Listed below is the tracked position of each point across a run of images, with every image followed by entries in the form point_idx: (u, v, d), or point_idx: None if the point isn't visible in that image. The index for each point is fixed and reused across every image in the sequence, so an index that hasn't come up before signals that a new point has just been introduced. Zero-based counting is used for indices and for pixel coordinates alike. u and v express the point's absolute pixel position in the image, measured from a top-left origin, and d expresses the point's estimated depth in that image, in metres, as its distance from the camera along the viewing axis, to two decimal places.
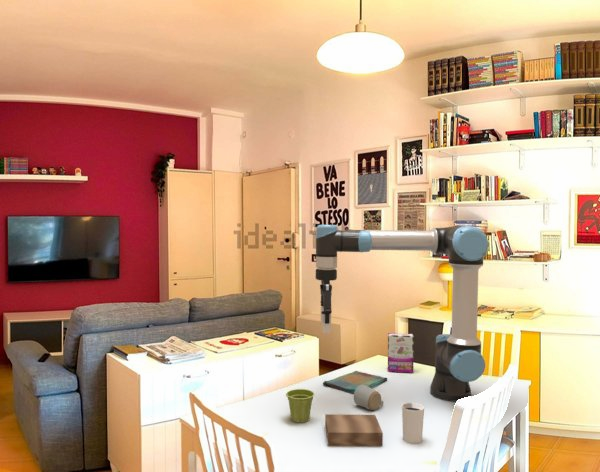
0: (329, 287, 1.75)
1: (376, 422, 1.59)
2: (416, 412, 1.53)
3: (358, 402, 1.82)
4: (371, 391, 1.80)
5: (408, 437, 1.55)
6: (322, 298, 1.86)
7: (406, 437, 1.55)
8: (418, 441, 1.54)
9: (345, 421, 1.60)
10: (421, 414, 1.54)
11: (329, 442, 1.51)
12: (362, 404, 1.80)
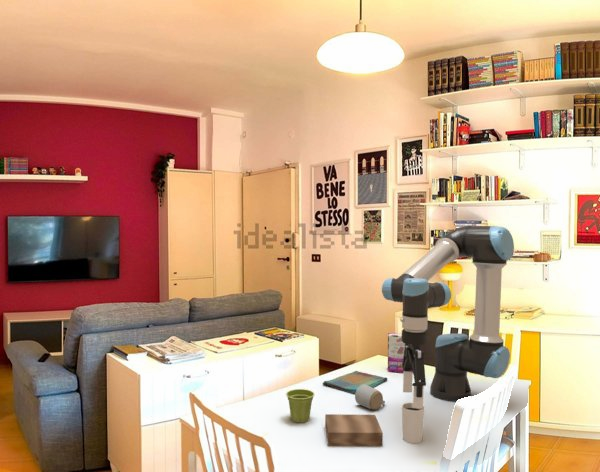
0: (422, 354, 1.49)
1: (376, 422, 1.59)
2: (416, 412, 1.53)
3: (360, 402, 1.82)
4: (373, 391, 1.80)
5: (408, 437, 1.55)
6: (406, 362, 1.61)
7: (406, 437, 1.55)
8: (418, 441, 1.54)
9: (345, 421, 1.60)
10: (421, 414, 1.54)
11: (329, 442, 1.51)
12: (364, 404, 1.81)
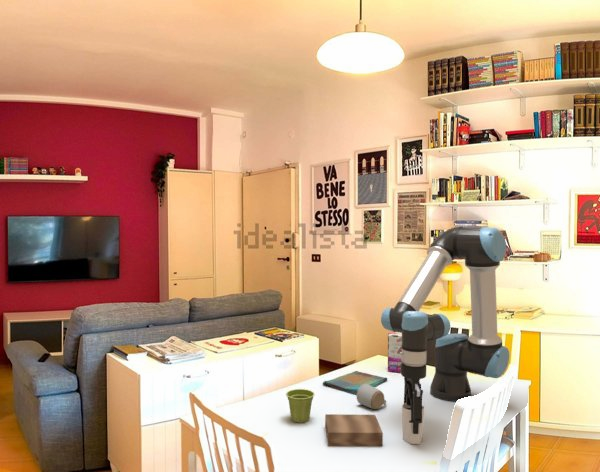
0: (420, 394, 1.50)
1: (376, 422, 1.59)
2: None
3: (361, 401, 1.83)
4: (374, 390, 1.81)
5: (408, 437, 1.55)
6: (407, 400, 1.59)
7: (406, 437, 1.55)
8: None
9: (345, 421, 1.60)
10: None
11: (329, 442, 1.51)
12: (365, 403, 1.81)
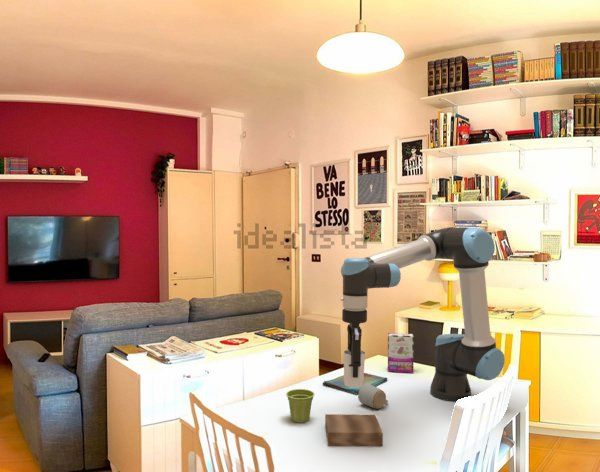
0: (359, 337, 1.51)
1: (376, 422, 1.59)
2: None
3: (363, 401, 1.83)
4: (376, 390, 1.81)
5: (349, 382, 1.56)
6: (350, 346, 1.60)
7: (347, 382, 1.56)
8: None
9: (345, 421, 1.60)
10: (361, 359, 1.55)
11: (329, 442, 1.51)
12: (367, 403, 1.82)
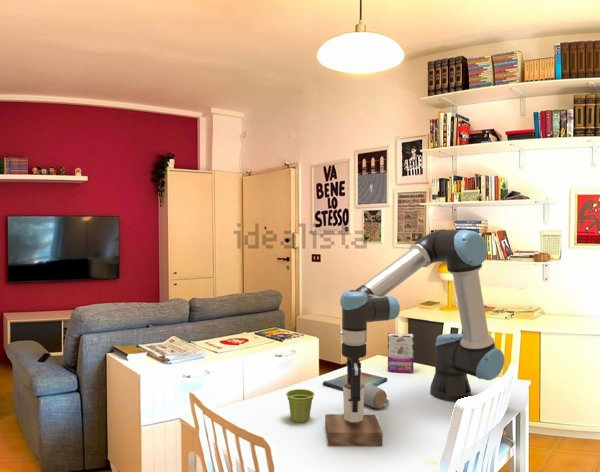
0: (358, 372, 1.51)
1: (376, 422, 1.59)
2: None
3: (364, 401, 1.83)
4: (377, 390, 1.82)
5: (348, 416, 1.56)
6: (349, 380, 1.61)
7: (347, 416, 1.57)
8: None
9: (345, 421, 1.60)
10: (361, 393, 1.56)
11: (329, 442, 1.51)
12: (368, 402, 1.82)
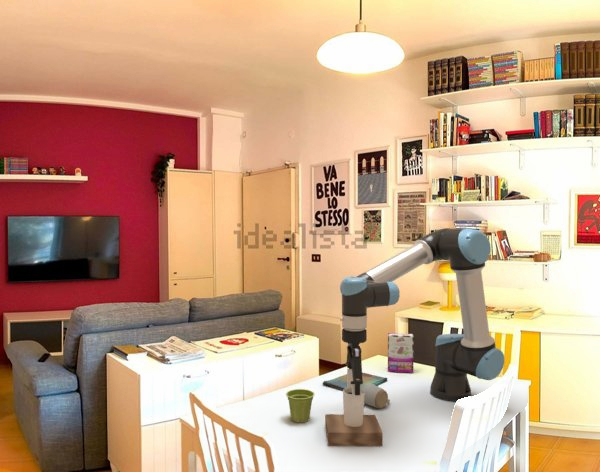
0: (359, 353, 1.51)
1: (376, 422, 1.59)
2: None
3: (365, 400, 1.84)
4: (378, 389, 1.82)
5: (348, 421, 1.56)
6: (349, 360, 1.63)
7: (346, 421, 1.57)
8: (358, 425, 1.56)
9: None
10: None
11: (329, 442, 1.51)
12: (369, 402, 1.82)
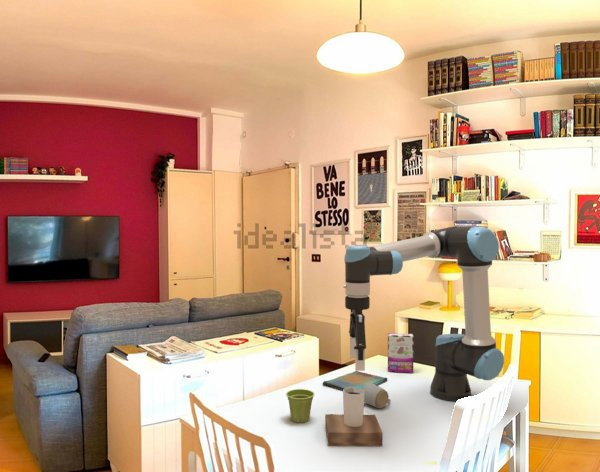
0: (362, 318, 1.52)
1: (376, 422, 1.59)
2: (356, 396, 1.55)
3: (365, 400, 1.84)
4: (378, 389, 1.82)
5: (348, 421, 1.56)
6: (352, 328, 1.64)
7: (346, 421, 1.57)
8: (358, 425, 1.56)
9: None
10: (361, 398, 1.56)
11: (329, 442, 1.51)
12: (369, 402, 1.82)
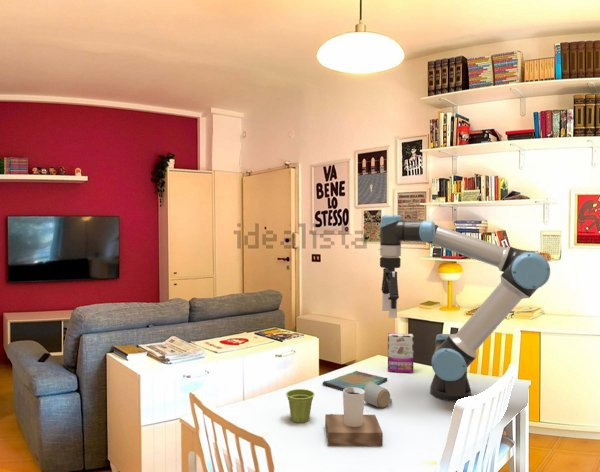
0: (395, 274, 1.83)
1: (376, 422, 1.59)
2: (356, 396, 1.55)
3: (367, 400, 1.84)
4: (380, 389, 1.82)
5: (348, 421, 1.56)
6: (384, 285, 1.95)
7: (346, 421, 1.57)
8: (358, 425, 1.56)
9: None
10: (361, 398, 1.56)
11: (329, 442, 1.51)
12: (371, 402, 1.83)
